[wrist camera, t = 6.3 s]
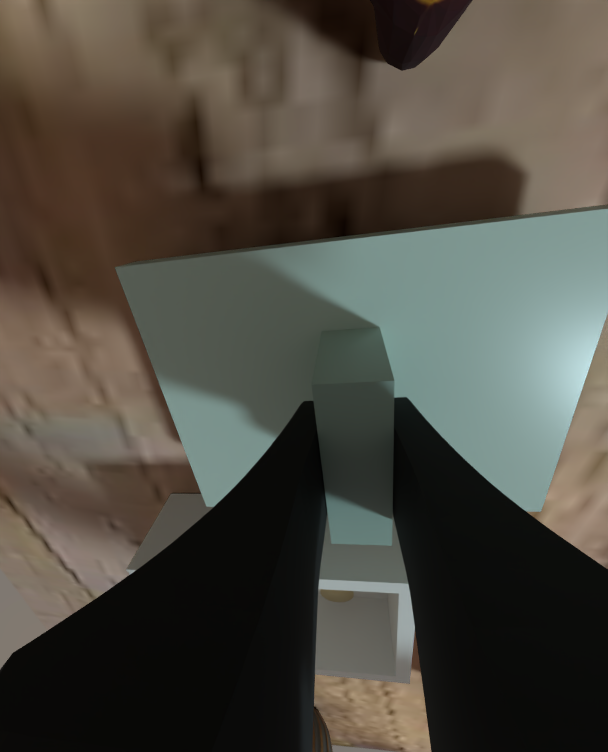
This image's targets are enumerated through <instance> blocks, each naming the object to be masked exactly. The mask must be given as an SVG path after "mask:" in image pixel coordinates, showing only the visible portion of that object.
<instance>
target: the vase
mask: <svg viewBox="0 0 608 752" xmlns="http://www.w3.org/2000/svg"><path fill="white" fill-rule="evenodd" d="M312 752H333V751H332V744H331V739H330V735H329V731H328V728H327V726H326V723H325V721H324V720H323V718H322V716H321V714H320V713H319V711H318V710H316V709H315V708H314V715H313V748H312Z"/></svg>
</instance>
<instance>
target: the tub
mask: <svg viewBox="0 0 608 752" xmlns="http://www.w3.org/2000/svg"><path fill="white" fill-rule="evenodd" d="M212 508H213V507H206V504H205V502H204V499H203V496H202V494H170V496H169V498H168V499H167V501H166V503H165V505H164V506H163V508H162V510H161V511H160V513H159V515H158V516H157V518H156V520H155V522H154V523H153V525H152V527H151V528H150V530H149V532H148V533H147V535H146V537H145V539H144V540H143V542H142V544H141V545H140V547H139V549H138V550H137V552H136V554H135V556H134V557H133V559H132V561H131V562H130V564H129V566H128V567H127V569H126V570H127V571H128V573H129V574H132V573H133V572H134V571H136V570H137V569H138V568H140V567H141V566H143V565H144V564H145V563H147V562H148V561H149V560H150V559H152V558H153V557H154V556H156V555H157V554H158V553H160V552H161V551H162V550H164V549H165V548H166V547H167V546H169V545H170V544H171V543H172V542H174V541H175V540H176V539H177V538H178V537H179V536H181V535H182V534H183V533H184V532H185V531H187V530H188V529H189V528H190V527H191V526H193V525H194V524H195V523H196V522H197V521H198V520H200V519H201V518H202V517H203V516H204V515H205V514H206V513H208V512H209V511H210V510H211V509H212ZM414 632H415V624H414V617H413V610H412V603H411V596H410V590H409V585H408V580H407V574H406V570H405V565H404V561H403V557H402V552H401V548H400V544H399V539H398V535H397V530H396V526H395V522H394V517H393V520H392V546H385V545H354V544H331V536H330V528H329V520H328V513H327V520H326V528H325V536H324V543H323V551H322V559H321V566H320V576H319V587H318V608H317V631H316V657H315V674H317V675H327V676H337V677H347V678H358V679H368V680H378V681H388V682H398V683H408V684H410V674H411V664H412V653H413V643H414Z"/></svg>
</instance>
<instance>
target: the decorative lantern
mask: <svg viewBox="0 0 608 752" xmlns="http://www.w3.org/2000/svg"><path fill="white" fill-rule="evenodd" d="M370 1H371V3H372V4H373V6H374V11H375V19H376V27H377V35H378V42H379V48H380V52H381V54H382V55H383V57H384V59H385V60H386V62H387V63H388V64H390V65H392V66H394V67H396V68H398V69H400V70H402V71H403V70H407V69H411V68H414V67H416V66H417V65H419V64H420V63H421V62H422V61H423V60H425V59H426V58H427V57H428V56H429V55H430V54H431V53H433V52H434V51H435V50H436V49H437V48H438V47H439V46H440V44H441V43H442V41H443V40H444V39H445V37H446V36H447V35H448V33H449V32H450V30H451V29H452V28H453V26H454V25H455V24H456V22H457V21H458V19H459V18H460V17H461V15H462V14H463V13H464V11H465V10H466V8H467V7H468V6H469V4H470V3H471V1H472V0H370Z"/></svg>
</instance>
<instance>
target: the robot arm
mask: <svg viewBox="0 0 608 752" xmlns="http://www.w3.org/2000/svg"><path fill="white" fill-rule="evenodd" d="M327 513H328V512H327V504H326V496H325V488H324V480H323V472H322V465H321V457H320V449H319V441H318V433H317V425H316V417H315V409H314V401H303V402H302V403H301V405H300V406H299V407H298V409H297V410H296V412H295V413H294V415H293V416H292V418H291V419H290V421H289V422H288V423H287V425H286V426H285V428H284V429H283V430H282V432H281V433H280V434H279V435H278V437H277V438H276V439H275V441H274V442H273V443H272V445H271V446H270V447H269V448H268V450H267V451H266V452H265V453H264V454H263V456H262V457H261V458H260V459H259V460H258V461H257V462H256V464H255V465H254V466H253V467H252V468H251V469H250V470H249V472H248V473H247V474H246V475H245V476H244V477H243V478H242V479H241V480H240V481H239V482H238V484H237V485H236V486H235V487H234V488H233V489H232V490H231V491H230V492H229V493H228V494H227V495H226V496H225V497H224V498H222V499H221V500H220V501H219V502H218V503H217V504H216V505H215V506H214V507H213V508H212V509H211V510H210V511H209V512H208V513H206V514H205V515H204V516H203V517H202V518H201V519H200V520H198V521H197V522H196V523H195V524H194V525H193V526H191V527H190V528H189V529H188V530H187V531H185V532H184V533H183V534H182V535H181V536H179V537H178V538H177V539H176V540H175V541H174V542H172V543H171V544H170V545H169V546H167V547H166V548H165V549H164V550H162V551H161V552H160V553H158V554H157V555H156V556H154V557H153V558H152V559H150V560H149V561H148V562H147V563H145V564H144V565H143V566H141V567H140V568H138V569H137V570H136V571H134V572H133V573H132V574H130V575H129V576H127V577H126V578H125V579H123V580H122V581H121V582H119V583H118V584H116V585H115V586H114V587H112V588H111V589H109V590H108V591H106V592H105V593H104V594H102V595H101V596H99V597H98V598H96V599H95V600H93V601H92V602H90V603H89V604H87V605H86V606H84V607H83V608H81V609H80V610H78V611H77V612H75V613H74V614H72V615H71V616H69V617H68V618H66V619H65V620H63V621H62V622H60V623H58V624H57V625H55V626H54V627H52V628H51V629H49V630H48V631H46V632H45V633H43V634H42V635H40V636H39V637H37V638H36V639H34V640H33V641H31V642H30V643H28V644H26V645H25V646H23V647H22V648H20V649H18V650H17V651H15V652H14V653H13V654H12V655H11V656H10V658H9V659H8V660H7V661H6V663H5V664H4V665H3V667H2V668H1V670H0V752H312V748H313V715H314V683H315V657H316V631H317V608H318V587H319V576H320V566H321V559H322V551H323V543H324V536H325V528H326V520H327ZM393 517H394V522H395V526H396V530H397V535H398V539H399V544H400V548H401V552H402V557H403V561H404V565H405V570H406V574H407V580H408V585H409V590H410V596H411V603H412V610H413V617H414V624H415V631H416V638H417V646H418V653H419V660H420V668H421V675H422V682H423V690H424V697H425V705H426V713H427V720H428V728H429V736H430V744H431V751H432V752H608V569H606V568H605V567H603V566H602V565H600V564H599V563H597V562H596V561H595V560H593V559H592V558H590V557H589V556H587V555H586V554H584V553H583V552H582V551H580V550H579V549H577V548H576V547H574V546H573V545H571V544H570V543H569V542H567V541H566V540H564V539H563V538H561V537H560V536H558V535H557V534H556V533H554V532H553V531H551V530H550V529H549V528H547V527H546V526H545V525H543V524H542V523H540V522H539V521H538V520H536V519H535V518H534V517H532V516H531V515H530V514H528V513H527V512H526V511H525V510H523V509H522V508H521V507H520V506H518V505H517V504H516V503H515V502H513V501H512V500H511V499H509V498H508V497H507V496H506V495H504V494H503V493H502V492H501V491H500V490H498V489H497V488H496V487H495V486H494V485H493V484H491V483H490V482H489V481H488V480H487V479H486V478H484V477H483V476H482V475H481V474H480V473H479V472H478V471H477V470H476V469H475V468H474V467H472V466H471V465H470V464H469V463H468V462H467V461H466V460H465V459H464V458H463V457H462V456H461V455H460V454H459V453H458V452H457V451H456V450H455V449H454V448H453V447H452V446H451V445H450V444H449V443H448V442H447V441H446V440H445V439H444V438H443V437H442V436H441V435H440V434H439V433H438V432H437V431H436V430H435V429H434V428H433V426H432V425H431V424H430V423H429V422H428V421H427V420H426V419H425V417H424V416H423V415H422V414H421V413H420V412H419V410H418V409H417V408H416V407H415V406H414V404H413V403H412V402H411V401H410V400H409V399H408V398H407V397H395V398H394V453H393Z"/></svg>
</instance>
